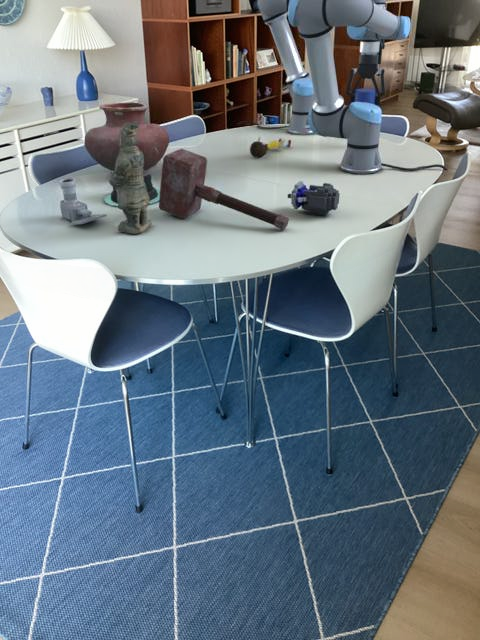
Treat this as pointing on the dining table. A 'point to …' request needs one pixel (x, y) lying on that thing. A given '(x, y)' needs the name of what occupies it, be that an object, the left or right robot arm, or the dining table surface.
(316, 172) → the dining table surface
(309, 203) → the toy
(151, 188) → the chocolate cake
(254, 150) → the figurine
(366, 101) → the canister
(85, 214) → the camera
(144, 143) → the clay pot
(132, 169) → the statue
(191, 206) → the sledgehammer
